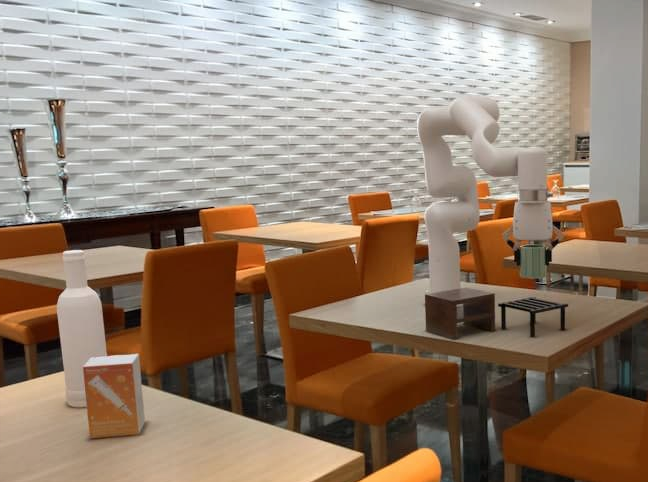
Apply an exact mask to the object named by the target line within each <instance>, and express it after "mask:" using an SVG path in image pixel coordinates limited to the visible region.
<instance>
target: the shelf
mask: <svg viewBox="0 0 648 482" xmlns="http://www.w3.org/2000/svg"><path fill="white" fill-rule="evenodd" d="M459 304H463V306H459V307H457V305H459ZM424 309H425V310H424V311H425V332H426V333H427V332H428V333H430V334H434V335H437V336H441V337H444V338H447V339H450V340H457V339H458V324H461V323H463V324H464V325H466V326H467V325H468V326H471V327H474V328H478V329H482V330H486V331H490V332H495V331H496V293H495V292H489V291H484V290H479V289H475V288H471V287H460V289H454V290H448V291H442V292H436V293H430V294H424Z"/></svg>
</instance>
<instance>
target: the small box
mask: <svg viewBox="0 0 648 482" xmlns="http://www.w3.org/2000/svg"><path fill="white" fill-rule="evenodd" d="M140 362H141V361H140V353H131V354H115V355H114V354H113V355H107V356H105V357H91V358H90V359H89V360H88V361H87V363H86V364H85V365H84V366H83V373H84V384H85V394H86V404H87V407H86V414H87V421H88V432H89V438H90V439H97V438H98V439H99V438H109V437H121V436H123V437H124V436H133V435H134V436H138V435H140V433H141V431H142V429H143V426H144V425H145V423H146V417H145V416H146V415H145V405H144V396H143V395H144V394H143V385H142V374H141V373H142V372H141V363H140Z"/></svg>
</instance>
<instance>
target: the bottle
mask: <svg viewBox="0 0 648 482" xmlns="http://www.w3.org/2000/svg"><path fill="white" fill-rule="evenodd" d="M62 262H63V268H64V269H63V270H64V276H65V277H64V278H65V286H66V288H65V289H64V291H62V292H61V294H60V295H59V296H58V299H57V303H56V314H57V322H58V330H59V331H58V332H59V338H60V339H59V340H60V348H61V356H62V364H63V365H62V366H63V375H64V383H65V396H66V399H67V405H68V406H70V407H72V408H87V404H86V394H85V384H84V373H83V366H84V365H85V364H86V363H87V361H88V360H89V359H90V358H91V357H105V356H108V353H107V344H106V343H107V342H106V333H105V324H104V317H103V316H104V315H103V307H102V301H101V299H100V297H99V295H98V293H97V292H96V291H95V290H93V289H92V288H91V287H90V286H88V277H87V268H86V256H85V251H84V250H82V249H72V250H64V251H63V252H62Z"/></svg>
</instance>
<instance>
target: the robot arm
mask: <svg viewBox="0 0 648 482" xmlns="http://www.w3.org/2000/svg"><path fill="white" fill-rule="evenodd" d="M499 118H500V108H499V105H498V103H497V102H496V100H494V99H493V98H492V97H489V96H472V95H471V96H466V95H465V96H464V95H463V96H460V97H458V98H456V99H454V100H453V101H452V102H451V104H450V105H433V106H429V107H426V108H424V109H423V110H422V111H421V112H420V113H419V115H418V117H417V123H416V130H417V136H418V141H419V144H420V147H421V151H422V155H423V166H424V168H423V169H424V176H425V177H424V178H425V186H426V190H427V193H428V195H429V196H431V197H432V198H438V199H439V198H440V199H441V198H442V199H443V198H444V199H445V198H456V201H440V202H435V203H432V204H430V205H429V206H428V207H426V209H425V211H424V215H423V218H424V219H423V220H424V224H425V230H426V234H427V245H428V272H429V273H428V274H429V288H428V289H426V290H425V291H424V293H425V294H430V293H436V292H442V291H448V290H454V289H460V288H461V253H460V251H461V250H460V245H459V242H458V241H457V239H456V237H455V236H454V234H455V233H465V232H471V231H474V230H475V229H476V228H477V227H478V225H479V223H480V203H479V189H478V183H477V177H476V175H475V172H474V171H473V169H471V168H470V167H469V166H468V165H467V166H466V165H454V163H453V158H452V151H451V148H450V146H449V144H448V142H447V141H446V140H445V139H444V138H443V136H467V137H468V138H469V139H470V140H471V144H470V150H471V155H472V159H473V161H474V162H475V163H476V165H477V166H478V167H479V168H480V169H481V170H482V171H483V172H484V173H485V174H487V176H490V177H493V178H504V177H517V201H515V202H514V207H513V219H512V226H510V228H508V229H507V230H506V231H504V232H503V233H502V234H501V237H502V239H503V241H504V242H505V243H506V244H507V245H508V246H509V247H510V248H511V249H512V250H513V262H514V263H516V266H517V267H520V251H519V246H521V243H522V242H537V241H539V242H541V241H542V242H543V241H544V243H545V246H546V267H549V266H550V263H552V262H553V250H554V249H555V248H556V246H557V245H559V243H560V242H561V241H562V240H563V239H564V237H565V233H563V232H562V230H560V229H558V228H557V227H556V226H555V225H554V224H553V210H552V204H551V201H550V200H548V199H549V198H554V191H550V190H548V151H547V150H546V149H545V148H543V147H523V146H522V147H521V146H519V147H518V146H516V147H513V146H512V147H511V146H510V147H508V146H507V147H495V146H494V145H493V143H494V142H495V141H496V140H497V138H498V137H499V134H500V124H499V123H498V121H499ZM553 233H554V234H555V235H557V236H556V237H555V238H554V240H552V239H553ZM511 234H512V236H513V239H514V240H515V242H514V241H513V240H512V239H511V238H510V237H509V236H510V235H511ZM551 240H552V242H551ZM425 294H424V295H425ZM460 306H463V304H459V305H457V307H460Z"/></svg>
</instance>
